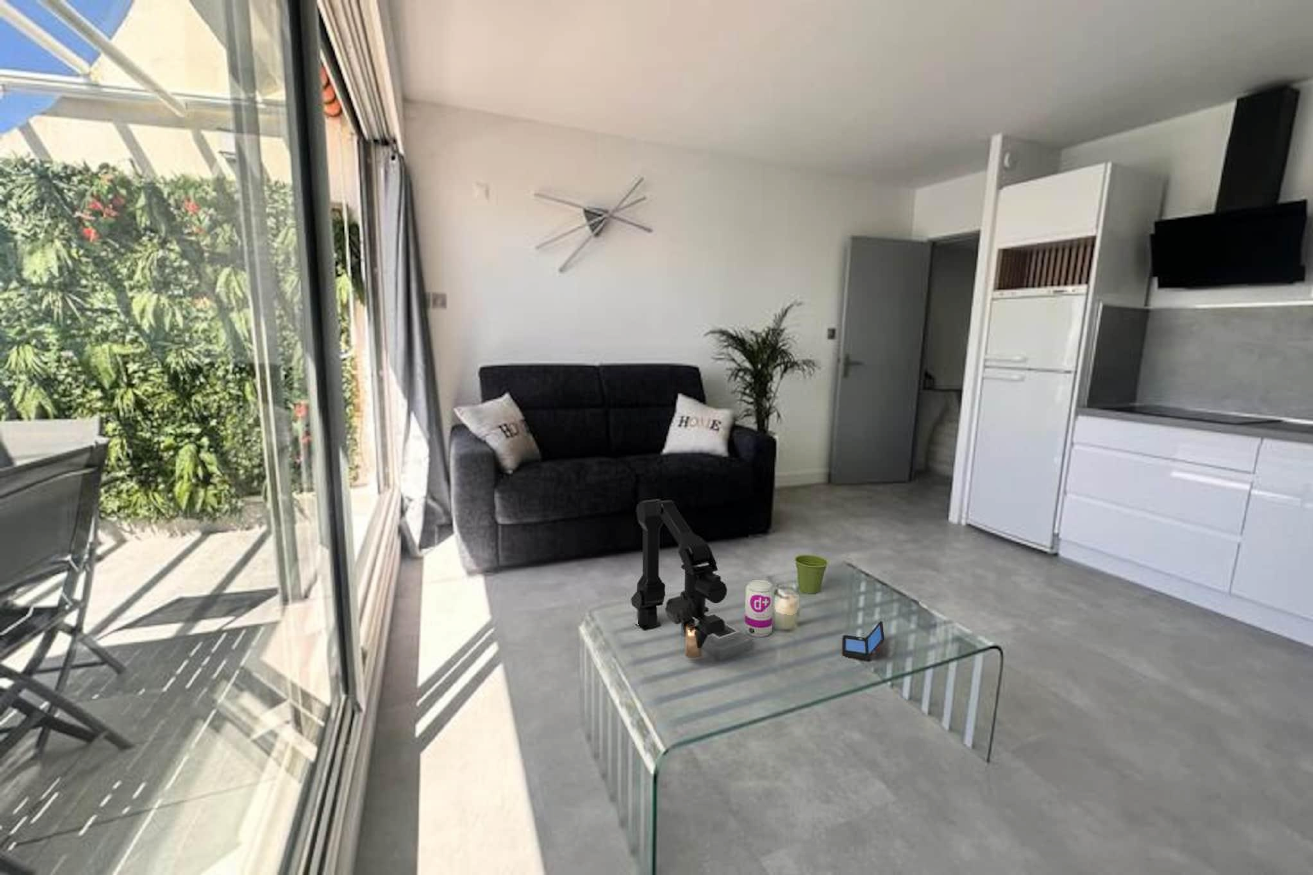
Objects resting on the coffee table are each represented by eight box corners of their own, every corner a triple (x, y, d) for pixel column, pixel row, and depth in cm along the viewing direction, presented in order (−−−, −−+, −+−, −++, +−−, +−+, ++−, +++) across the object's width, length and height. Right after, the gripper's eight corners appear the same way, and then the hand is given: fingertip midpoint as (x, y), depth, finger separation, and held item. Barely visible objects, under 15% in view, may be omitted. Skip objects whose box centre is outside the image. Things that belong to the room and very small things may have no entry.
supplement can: (771, 639, 171) (773, 590, 169) (743, 636, 173) (745, 588, 171) (771, 626, 179) (773, 580, 177) (744, 624, 181) (746, 578, 179)
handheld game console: (842, 637, 173) (843, 614, 172) (880, 643, 170) (882, 619, 169) (841, 658, 161) (843, 632, 160) (882, 664, 158) (884, 639, 157)
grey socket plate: (680, 634, 173) (681, 620, 173) (711, 624, 180) (712, 610, 179) (720, 660, 158) (720, 645, 158) (752, 648, 165) (752, 634, 165)
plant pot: (793, 595, 203) (795, 564, 201) (791, 582, 214) (793, 553, 213) (828, 598, 201) (830, 567, 199) (824, 585, 213) (826, 555, 211)
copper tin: (681, 652, 157) (682, 624, 156) (694, 648, 160) (695, 620, 159) (691, 660, 153) (692, 631, 152) (705, 655, 156) (706, 627, 155)
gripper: (650, 583, 157) (649, 637, 159) (692, 608, 142) (691, 668, 144) (683, 575, 163) (682, 627, 166) (727, 598, 148) (725, 655, 150)
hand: (693, 644), depth 156 cm, fingers closed on copper tin, 4 cm apart
